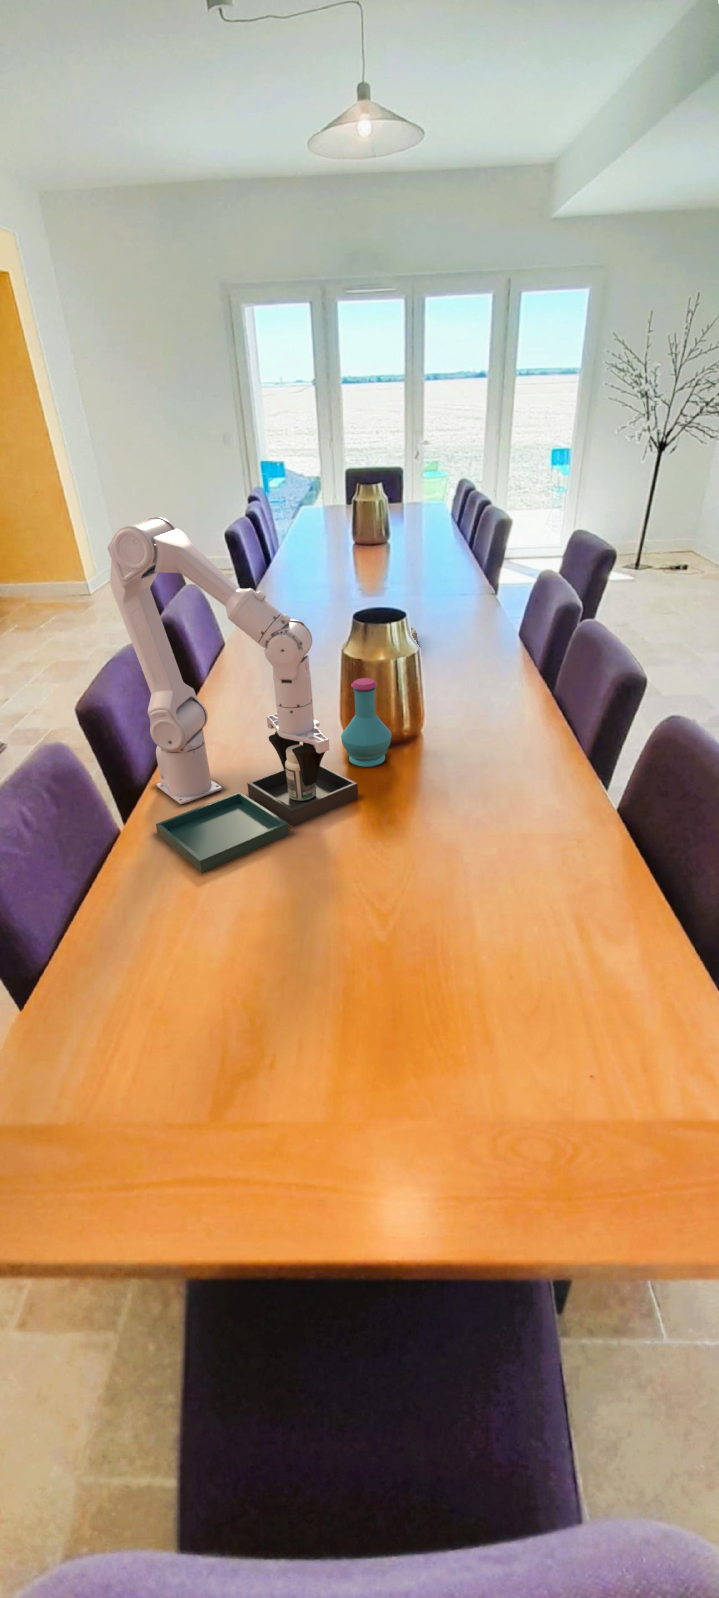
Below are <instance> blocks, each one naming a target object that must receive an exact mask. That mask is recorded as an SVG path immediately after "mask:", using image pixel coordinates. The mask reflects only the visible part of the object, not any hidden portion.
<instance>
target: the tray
mask: <svg viewBox="0 0 719 1598" xmlns="http://www.w3.org/2000/svg"><path fill="white" fill-rule="evenodd" d="M289 827H290V826H289V823H288V822H286V821H285V820H283V819H282V818H280V817H278V816H277V815H275V814H274V813H272V812H271V811H269V810H268V809H266V808H265V807H263V806H262V805H260V804H259V803H257V802H255V801H254V800H252V799H251V798H249V796H248V795H246V794H245V793H242V792H241V791H237V792H235V793H233V794H230V795H227V796H225V797H222V798H220V799H217V800H214V801H212V802H209V803H207V804H204V805H201V806H199V807H195V808H193V809H190V810H189V811H185V812H183V813H181V814H178V815H176V816H173V817H171V818H168V819H165V820H163V821H160V822H157V823H155V828H156V832H157V836H158V837H160V838H161V839H162V840H163V841H165V842H166V843H167V845H169V846H170V847H172V848H173V849H174V850H175V851H176V852H177V853H178V854H179V855H181V856H182V857H183V858H184V859H185V860H187V861H188V862H189V863H190V864H191V865H193V866H194V867H195V868H196V869H197V870H198V871H199V872H201V873H204V872H206V871H209V870H211V869H214V868H215V867H218V866H220V865H222V864H224V863H227V862H229V861H232V860H234V859H236V858H238V857H240V856H243V855H245V854H247V853H250V852H252V851H254V850H257V849H259V848H261V847H264V846H266V845H267V844H270V843H272V842H274V841H277V840H280V839H282V838H284V837H287V836H289V835H290V829H289Z"/></svg>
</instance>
